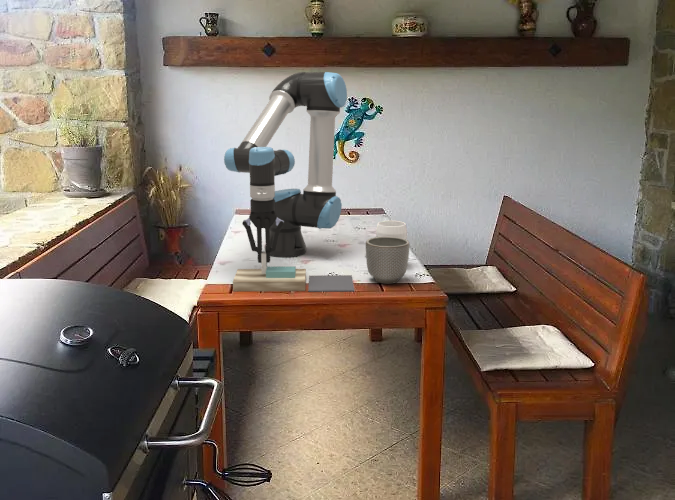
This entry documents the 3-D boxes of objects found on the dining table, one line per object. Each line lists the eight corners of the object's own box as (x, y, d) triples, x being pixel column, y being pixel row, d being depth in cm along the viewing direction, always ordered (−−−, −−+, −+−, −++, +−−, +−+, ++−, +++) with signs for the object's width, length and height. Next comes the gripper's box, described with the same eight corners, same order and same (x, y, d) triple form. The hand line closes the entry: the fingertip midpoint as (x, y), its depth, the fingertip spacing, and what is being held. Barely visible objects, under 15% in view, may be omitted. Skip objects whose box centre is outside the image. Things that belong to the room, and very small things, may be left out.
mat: (308, 276, 234) (308, 275, 233) (351, 276, 234) (351, 275, 234) (308, 291, 218) (308, 290, 218) (354, 291, 218) (354, 290, 218)
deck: (237, 278, 232) (237, 269, 231) (305, 277, 233) (305, 268, 232) (233, 291, 218) (232, 281, 218) (305, 290, 219) (305, 281, 218)
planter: (373, 272, 238) (374, 234, 235) (413, 277, 233) (415, 238, 230) (358, 284, 226) (359, 244, 223) (400, 289, 221) (401, 248, 217)
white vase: (404, 271, 240) (406, 227, 236) (373, 269, 242) (374, 226, 238) (407, 262, 250) (408, 220, 246) (377, 261, 252) (377, 219, 248)
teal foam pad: (265, 277, 222) (265, 271, 221) (267, 272, 228) (267, 266, 227) (295, 277, 222) (294, 271, 221) (295, 272, 228) (295, 266, 227)
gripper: (239, 200, 215) (242, 276, 221) (283, 200, 215) (284, 275, 221) (242, 196, 222) (244, 269, 228) (284, 196, 222) (285, 269, 228)
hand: (264, 272), depth 224 cm, fingers closed
